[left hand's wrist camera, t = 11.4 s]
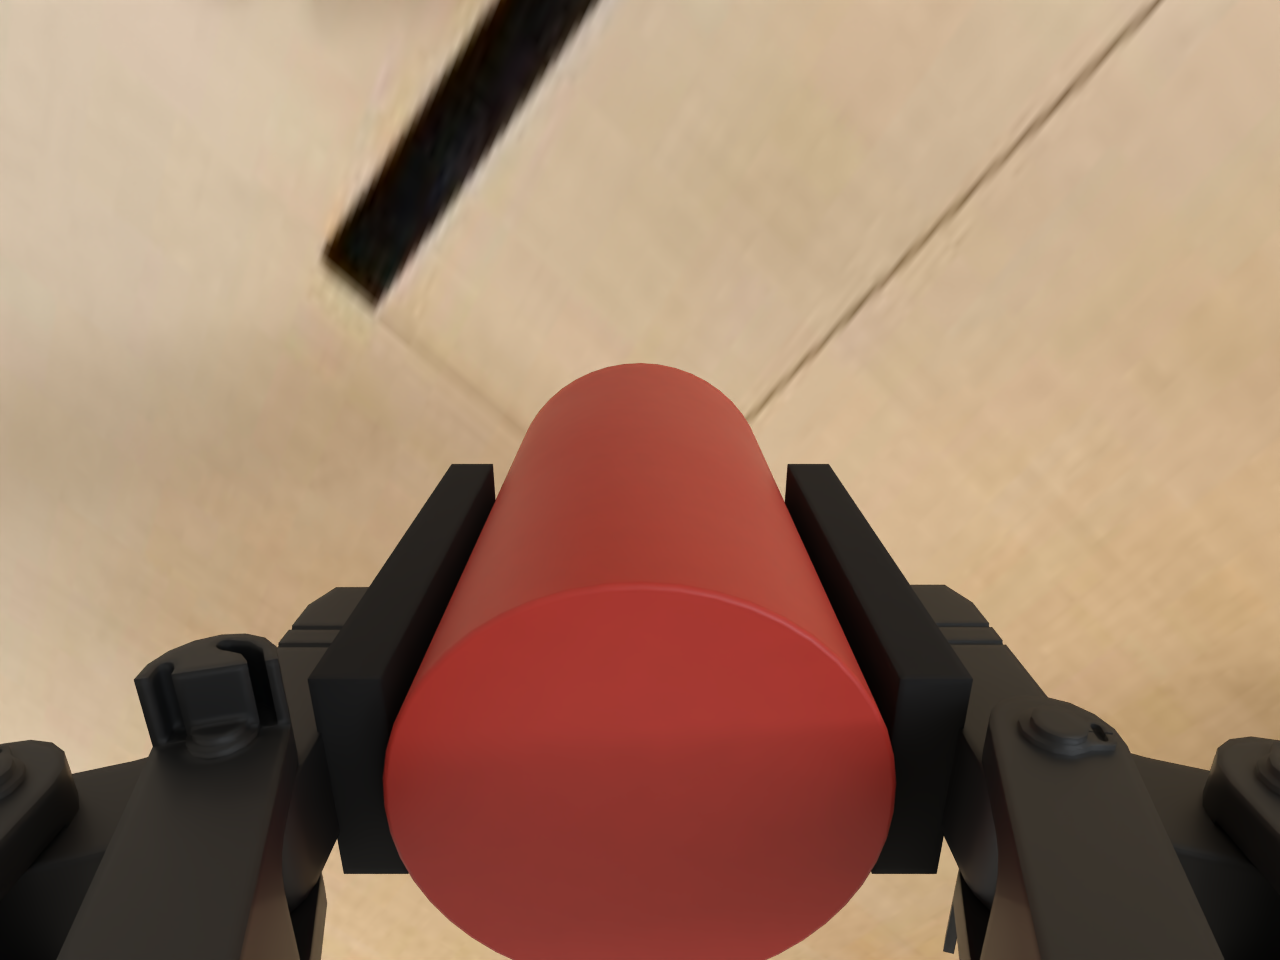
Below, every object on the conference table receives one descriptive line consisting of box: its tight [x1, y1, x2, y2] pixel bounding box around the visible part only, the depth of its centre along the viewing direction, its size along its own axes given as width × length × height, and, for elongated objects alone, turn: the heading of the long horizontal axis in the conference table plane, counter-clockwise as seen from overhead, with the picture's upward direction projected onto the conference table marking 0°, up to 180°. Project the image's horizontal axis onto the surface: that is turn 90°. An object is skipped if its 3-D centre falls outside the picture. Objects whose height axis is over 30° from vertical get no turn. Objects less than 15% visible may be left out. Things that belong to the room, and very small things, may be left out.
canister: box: [383, 363, 896, 960], centre depth 12 cm, size 5×5×9 cm
